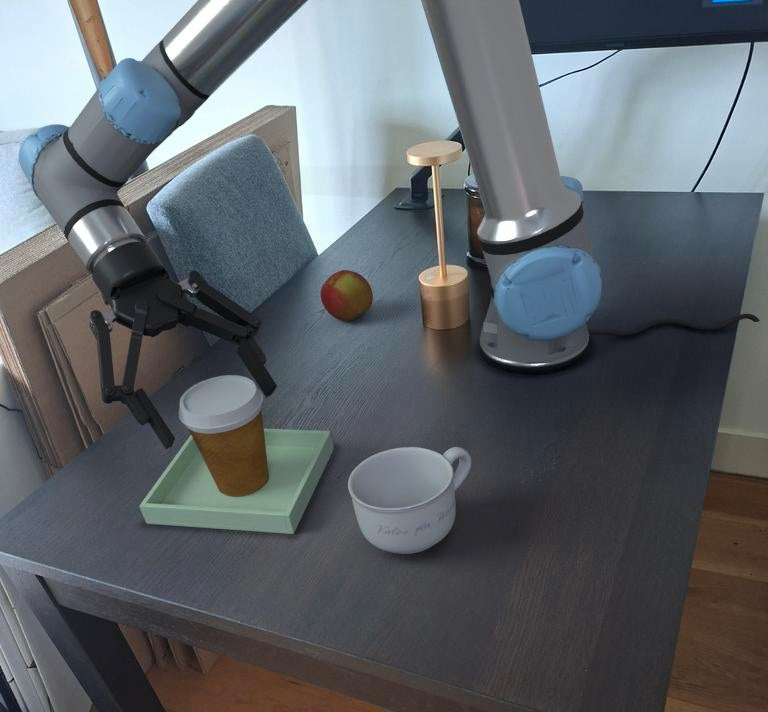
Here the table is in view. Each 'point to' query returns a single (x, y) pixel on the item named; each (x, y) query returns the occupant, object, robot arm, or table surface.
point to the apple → (346, 295)
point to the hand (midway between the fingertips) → (223, 417)
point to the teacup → (407, 496)
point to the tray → (251, 512)
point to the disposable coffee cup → (228, 432)
